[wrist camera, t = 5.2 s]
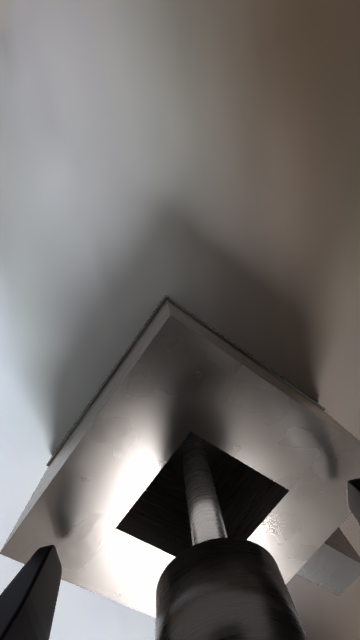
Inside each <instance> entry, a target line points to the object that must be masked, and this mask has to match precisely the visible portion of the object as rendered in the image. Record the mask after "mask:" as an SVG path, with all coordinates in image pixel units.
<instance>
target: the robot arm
mask: <svg viewBox="0 0 360 640" xmlns="http://www.w3.org/2000/svg"><path fill="white" fill-rule="evenodd" d="M347 503H348V506H349V509H350V511H351V512H352V514H353V516H354V517H355V519H356V520H357V522H358V524H359V525H360V478H357V479H352V480H349V481H348V482H347ZM61 576H62V564H61V561H60V558H59V555H58V552H57V549H56V547H55V546H54V545H48V546H43V547H40V548H39V549H38V550H37V551H36V552H35V553H34V554H33V555H32V557H31V558H30V559H29V560H28V562H27V563H26V564H25V565H24V567H23V568H22V569H21V570H20V571H19V573H18V574H17V575H16V576H15V578H14V579H13V580H12V581H11V583H10V584H9V585H8V586H7V587H6V589H5V590H4V591H3V592H2V594H1V595H0V640H49V636H50V631H51V626H52V621H53V616H54V611H55V606H56V601H57V596H58V591H59V586H60V581H61Z"/></svg>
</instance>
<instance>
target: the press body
mask: <svg viewBox="0 0 360 640" xmlns="http://www.w3.org/2000/svg"><path fill="white" fill-rule="evenodd" d="M190 431H191V432H193V433H194V434H196V435H198V436H199V437H201V438H202V440H203V444H204V448H205V452H206V456H207V460H208V464H209V468H210V471H211V475H212V479H213V483H214V487H215V491H216V495H217V498H218V502H219V506H220V510H221V514H222V518H223V522H224V525H225V529H226V533H227V537H229V538H240V539H245V540H249V541H252V542H254V543H256V544H259V545H260V546H262V547H263V548H265V549H266V550H267V551H268V552H269V553H270V554H271V555H272V556H273V557H274V559H275V561H276V562H277V565H278V567H279V570H280V572H281V575H282V577H283V580H284V582H285V585H286V584H287V583H288V582H289V580H290V579H291V578H292V577H293V576H294V575H295V574H298V575H300V576H301V577H303V578H305V579H307V580H309V581H311V582H313V583H315V584H317V585H319V586H321V587H323V588H325V589H327V590H329V591H330V592H332V593H334V594H336V595H338V596H340V595H341V594H342V593H343V592H344V591H345V590H346V589H347V588H348V587H349V586H350V584H351V583H352V582H353V581H354V580H355V579H356V578H357V577H358V576H359V575H360V557H359V555H358V554H357V553H356V551H355V550H354V548H353V547H352V545H351V544H350V543H349V541H348V540H347V538H346V537H345V536H344V534H343V533H342V531H341V530H340V528H339V526H340V525H341V524H342V522H343V521H344V520H345V519H346V518H347V517H348V516H349V515H350V514H351V513H352V512H351V511H350V509H349V506H348V503H347V482H348V481H349V480H352V479H357V478H360V441H359V440H358V439H357V438H356V437H354V436H353V435H352V434H351V433H350V432H348V431H347V430H346V429H345V428H344V427H343V426H341V425H340V424H339V423H338V422H337V421H335V420H334V419H333V418H332V417H331V416H329V415H328V414H327V413H326V412H325V408H323V407H322V406H321V405H320V404H319V403H317V402H316V401H314V400H313V399H311V398H310V397H309V396H307V395H306V394H304V393H303V392H302V391H300V390H299V389H297V388H296V387H294V386H293V385H292V384H290V383H289V382H287V381H286V380H285V379H283V378H282V377H280V376H279V375H278V374H276V373H275V372H273V371H272V370H270V369H269V368H268V367H266V366H265V365H263V364H262V363H261V362H259V361H258V360H256V359H255V358H254V357H252V356H251V355H249V354H248V353H246V352H245V351H244V350H242V349H241V348H239V347H238V346H237V345H235V344H234V343H232V342H231V341H229V340H228V339H227V338H225V337H224V336H222V335H221V334H220V333H218V332H217V331H215V330H214V329H213V328H211V327H210V326H208V325H207V324H205V323H204V322H203V321H201V320H200V319H198V318H197V317H196V316H194V315H193V314H191V313H190V312H188V311H187V310H186V309H184V308H183V307H181V306H180V305H179V304H177V303H176V302H174V301H173V300H172V299H170V298H169V297H167V296H166V295H165V297H164V298H163V300H162V301H161V303H160V304H159V305H158V307H157V308H156V310H155V311H154V312H153V314H152V315H151V317H150V318H149V319H148V321H147V322H146V324H145V325H144V327H143V328H142V329H141V331H140V332H139V334H138V335H137V336H136V338H135V339H134V341H133V342H132V344H131V345H130V346H129V348H128V349H127V351H126V352H125V353H124V355H123V356H122V358H121V359H120V361H119V362H118V363H117V365H116V366H115V368H114V369H113V370H112V372H111V373H110V375H109V376H108V378H107V379H106V380H105V382H104V383H103V385H102V386H101V387H100V389H99V390H98V392H97V393H96V394H95V396H94V397H93V399H92V400H91V402H90V403H89V404H88V406H87V407H86V409H85V410H84V411H83V413H82V414H81V416H80V417H79V419H78V420H77V421H76V423H75V424H74V426H73V427H72V428H71V430H70V431H69V433H68V434H67V436H66V437H65V438H64V440H63V441H62V443H61V444H60V445H59V447H58V448H57V450H56V451H55V453H54V454H53V455H52V457H51V458H50V460H49V462H48V464H47V466H49V467H48V469H47V470H46V472H45V474H44V476H43V477H42V479H41V481H40V483H39V484H38V486H37V488H36V490H35V492H34V493H33V495H32V497H31V499H30V500H29V502H28V504H27V506H26V507H25V509H24V511H23V513H22V514H21V516H20V518H19V520H18V522H17V523H16V525H15V527H14V529H13V530H12V532H11V534H10V536H9V537H8V539H7V541H6V543H5V544H4V546H3V548H2V550H1V552H0V554H2V555H4V556H7V557H9V558H12V559H14V560H16V561H19V562H21V563H24V564H26V563H27V562H28V560H29V559H30V558H31V557H32V555H33V554H34V553H35V552H36V551H37V550H38V549H39V548H40V547H43V546H48V545H54V546H55V547H56V549H57V552H58V555H59V558H60V561H61V564H62V576H61V579H62V580H65V581H67V582H70V583H72V584H75V585H77V586H79V587H82V588H84V589H87V590H89V591H91V592H94V593H96V594H99V595H101V596H104V597H106V598H108V599H111V600H113V601H116V602H118V603H121V604H123V605H125V606H128V607H130V608H133V609H135V610H137V611H140V612H142V613H145V614H147V615H150V616H152V617H154V618H156V588H157V584H158V581H159V578H160V576H161V574H162V572H163V571H164V569H165V568H166V566H167V565H168V564H169V563H170V562H171V561H172V560H173V559H174V558H175V557H176V556H177V555H179V554H180V553H181V552H183V551H184V550H186V549H187V548H189V547H191V546H193V544H192V536H191V528H190V520H189V512H188V504H187V496H186V488H185V480H184V471H183V463H182V455H181V447H180V444H181V443H182V442H183V440H184V439H185V438H186V437H187V435H188V434H189V433H190Z"/></svg>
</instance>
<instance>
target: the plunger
mask: <svg viewBox="0 0 360 640" xmlns="http://www.w3.org/2000/svg"><path fill="white" fill-rule="evenodd" d="M180 447H181V455H182V463H183V471H184V480H185V488H186V496H187V504H188V512H189V520H190V528H191V536H192V544H193V546H191V547H189V548H187V549H186V550H184V551H183V552H181V553H180V554H179V555H177V556H176V557H175V558H174V559H173V560H172V561H171V562H170V563H169V564H168V565H167V566H166V568H165V569H164V571H163V572H162V574H161V576H160V578H159V581H158V584H157V588H156V640H308V639H307V636H306V634H305V631H304V629H303V626H302V624H301V622H300V619H299V617H298V614H297V612H296V609H295V607H294V604H293V602H292V599H291V597H290V594H289V592H288V589H287V587H286V585H285V582H284V580H283V577H282V575H281V572H280V570H279V567H278V565H277V562H276V561H275V559H274V557H273V556H272V555H271V554H270V553H269V552H268V551H267V550H266V549H265V548H263V547H262V546H260V545H259V544H256V543H254V542H252V541H249V540H245V539H240V538H229V537H227V533H226V529H225V525H224V522H223V518H222V514H221V510H220V506H219V502H218V498H217V495H216V491H215V487H214V483H213V479H212V475H211V471H210V468H209V464H208V460H207V456H206V452H205V448H204V444H203V440H202V438H201V437H199V436H198V435H196V434H194V433H193V432H191V431H190V433H189V434H188V435H187V437H186V438H185V439H184V440H183V442H182V443H181V444H180Z"/></svg>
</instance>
